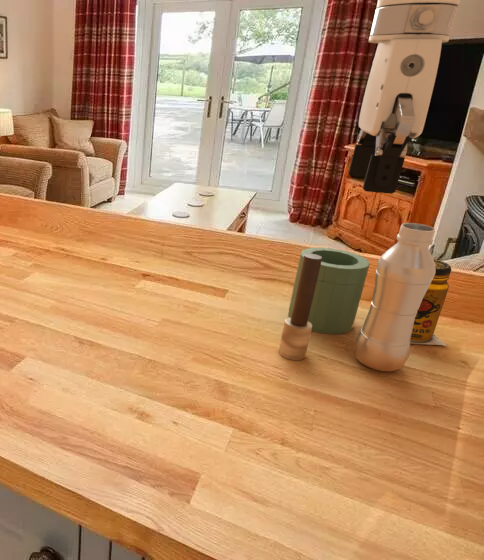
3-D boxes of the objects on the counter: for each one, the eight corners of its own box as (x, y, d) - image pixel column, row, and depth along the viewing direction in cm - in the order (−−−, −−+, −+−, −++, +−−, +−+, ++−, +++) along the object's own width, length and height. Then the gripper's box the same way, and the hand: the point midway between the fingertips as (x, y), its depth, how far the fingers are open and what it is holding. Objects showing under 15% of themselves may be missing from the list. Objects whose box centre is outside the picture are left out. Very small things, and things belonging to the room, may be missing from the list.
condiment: (394, 343, 74) (417, 269, 70) (370, 317, 82) (390, 249, 77) (446, 346, 73) (473, 272, 69) (417, 320, 81) (439, 252, 77)
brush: (308, 353, 71) (331, 256, 65) (300, 363, 69) (323, 263, 63) (283, 344, 73) (303, 249, 67) (274, 354, 71) (294, 256, 65)
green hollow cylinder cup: (358, 318, 81) (375, 256, 77) (343, 340, 75) (361, 274, 70) (298, 302, 87) (311, 243, 83) (279, 321, 80) (292, 258, 76)
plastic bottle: (410, 365, 68) (456, 228, 61) (393, 383, 64) (440, 238, 56) (361, 347, 73) (398, 216, 65) (342, 363, 69) (379, 225, 61)
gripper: (484, 19, 45) (426, 202, 51) (425, 33, 60) (387, 174, 67) (391, 19, 47) (347, 195, 54) (357, 33, 62) (326, 169, 69)
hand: (369, 183), depth 60 cm, fingers open, 9 cm apart
